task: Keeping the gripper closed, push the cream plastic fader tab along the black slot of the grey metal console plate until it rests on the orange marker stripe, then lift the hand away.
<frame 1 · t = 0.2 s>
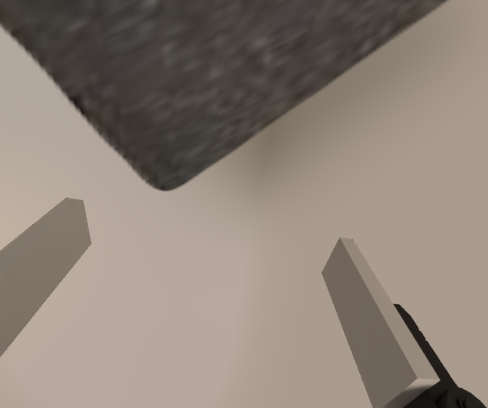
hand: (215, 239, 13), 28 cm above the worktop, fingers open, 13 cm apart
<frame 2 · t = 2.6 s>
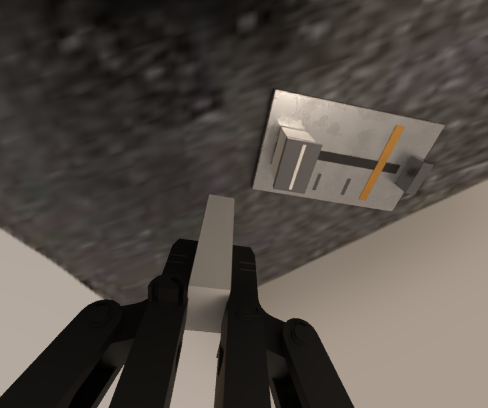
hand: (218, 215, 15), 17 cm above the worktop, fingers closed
console: (337, 154, 31), on the worktop
fader: (292, 158, 26), point 5 cm above the worktop, slide at 0.0 cm
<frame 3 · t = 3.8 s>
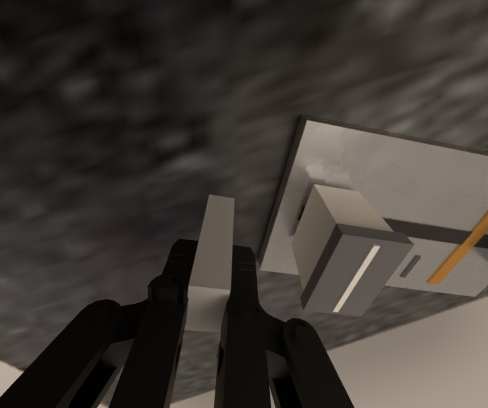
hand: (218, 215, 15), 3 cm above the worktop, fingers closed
console: (399, 217, 19), on the worktop
fader: (335, 246, 14), point 5 cm above the worktop, slide at 0.0 cm
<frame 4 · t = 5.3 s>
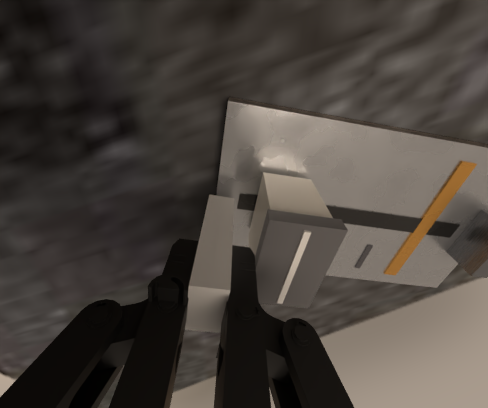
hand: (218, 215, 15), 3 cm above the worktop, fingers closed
console: (349, 205, 18), on the worktop
fader: (283, 235, 13), point 5 cm above the worktop, slide at 1.1 cm, touching gripper
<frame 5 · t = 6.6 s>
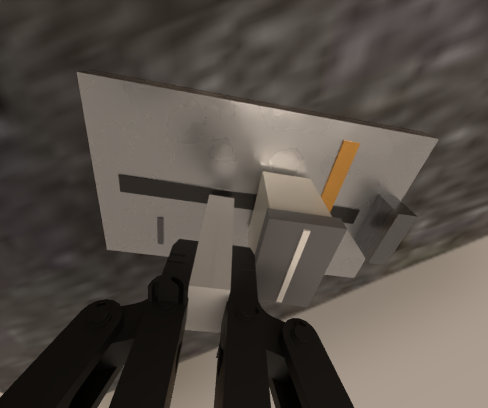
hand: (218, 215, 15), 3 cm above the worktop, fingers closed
console: (250, 190, 17), on the worktop
fader: (282, 234, 13), point 5 cm above the worktop, slide at 8.7 cm, touching gripper
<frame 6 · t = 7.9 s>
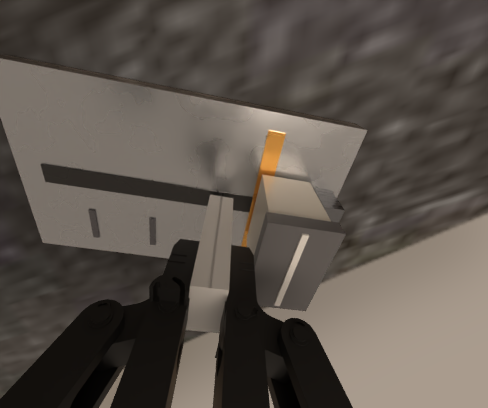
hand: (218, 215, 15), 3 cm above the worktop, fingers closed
console: (187, 183, 17), on the worktop
fader: (281, 238, 13), point 5 cm above the worktop, slide at 13.2 cm, touching gripper
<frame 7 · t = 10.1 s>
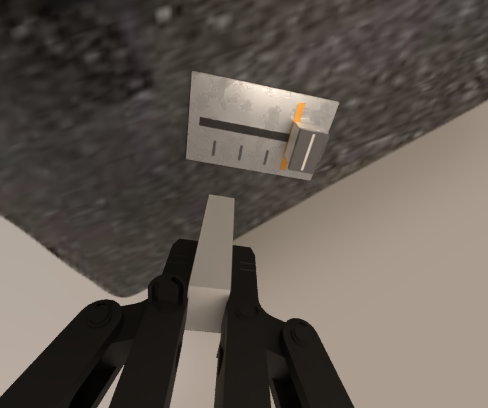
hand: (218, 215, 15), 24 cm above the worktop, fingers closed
console: (257, 129, 36), on the worktop
fader: (303, 146, 32), point 5 cm above the worktop, slide at 13.0 cm
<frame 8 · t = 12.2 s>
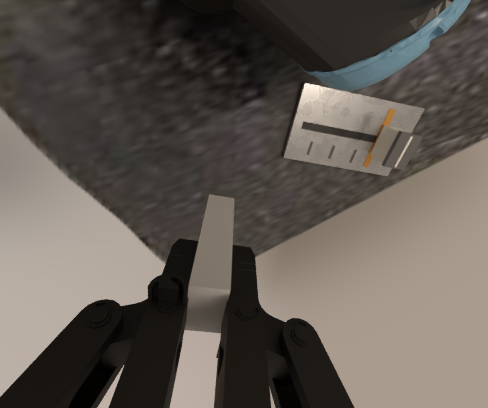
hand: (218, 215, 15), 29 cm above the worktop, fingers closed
console: (347, 132, 41), on the worktop
fader: (393, 146, 38), point 5 cm above the worktop, slide at 13.0 cm
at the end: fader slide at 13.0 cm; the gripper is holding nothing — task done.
